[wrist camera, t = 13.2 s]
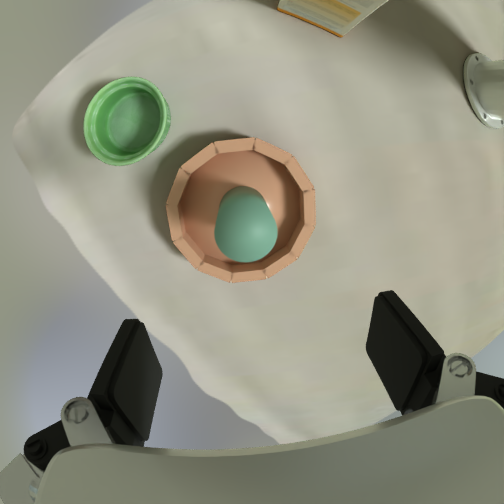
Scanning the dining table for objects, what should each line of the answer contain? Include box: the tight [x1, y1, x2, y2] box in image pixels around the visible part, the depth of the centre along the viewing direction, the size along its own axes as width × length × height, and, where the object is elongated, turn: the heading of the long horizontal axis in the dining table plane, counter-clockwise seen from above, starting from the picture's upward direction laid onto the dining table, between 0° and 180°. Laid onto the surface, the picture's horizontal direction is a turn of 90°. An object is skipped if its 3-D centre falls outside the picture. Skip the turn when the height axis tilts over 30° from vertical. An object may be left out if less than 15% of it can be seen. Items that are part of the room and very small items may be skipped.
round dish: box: [166, 137, 316, 283], centre depth 29 cm, size 15×15×3 cm
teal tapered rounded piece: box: [214, 186, 278, 262], centre depth 26 cm, size 5×5×8 cm
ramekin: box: [83, 77, 171, 166], centre depth 24 cm, size 9×9×4 cm
